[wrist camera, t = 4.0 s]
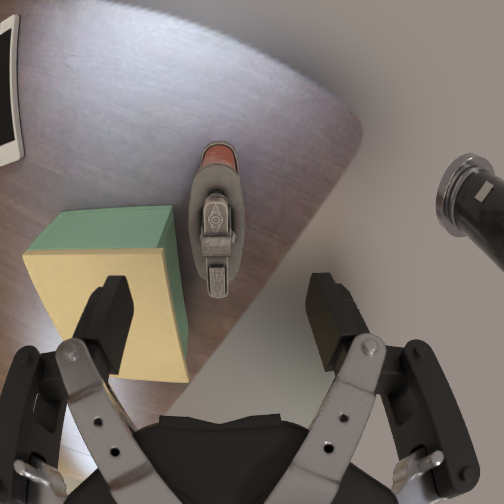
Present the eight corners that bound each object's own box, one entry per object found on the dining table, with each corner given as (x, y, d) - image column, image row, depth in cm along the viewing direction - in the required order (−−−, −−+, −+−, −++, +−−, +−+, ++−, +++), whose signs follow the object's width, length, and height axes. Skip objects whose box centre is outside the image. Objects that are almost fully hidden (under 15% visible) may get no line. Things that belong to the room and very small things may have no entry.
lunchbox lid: (164, 247, 18) (161, 254, 17) (189, 376, 26) (189, 382, 25) (26, 249, 16) (21, 255, 16) (86, 367, 25) (84, 373, 24)
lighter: (197, 141, 20) (177, 181, 12) (241, 140, 21) (252, 181, 12) (200, 230, 25) (190, 310, 16) (238, 230, 25) (246, 310, 17)
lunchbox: (173, 204, 23) (156, 247, 18) (188, 327, 32) (184, 376, 26) (62, 211, 22) (26, 249, 16) (100, 324, 31) (86, 367, 25)
